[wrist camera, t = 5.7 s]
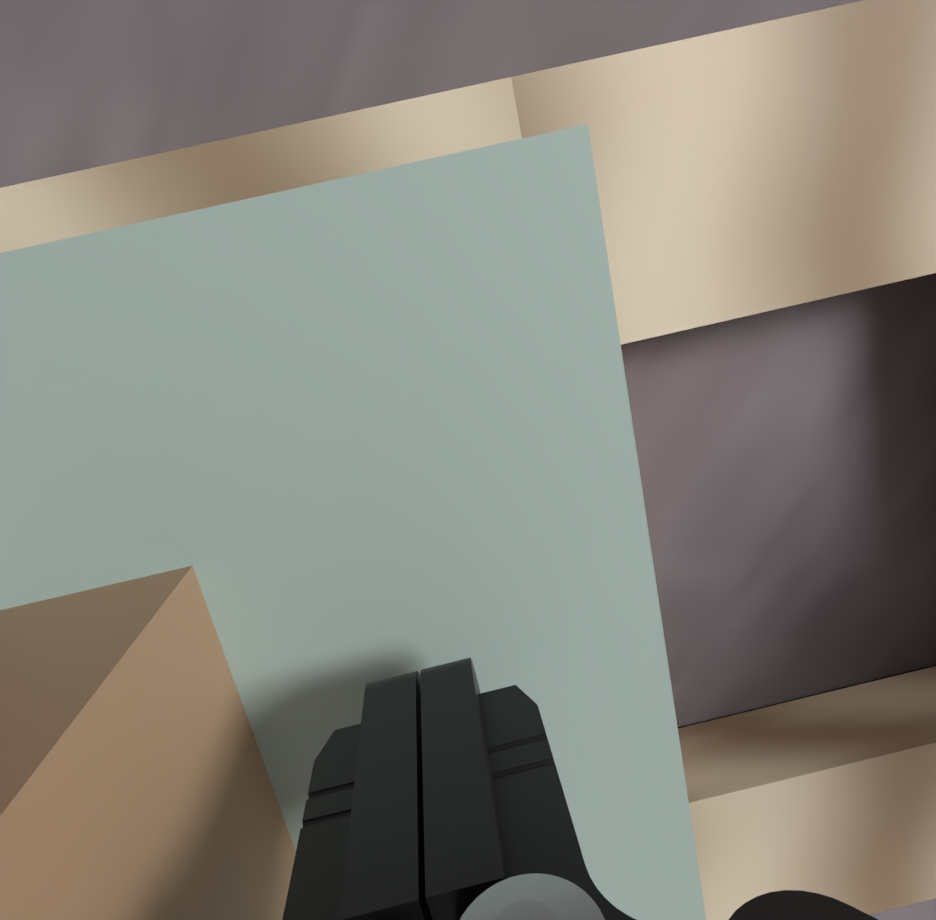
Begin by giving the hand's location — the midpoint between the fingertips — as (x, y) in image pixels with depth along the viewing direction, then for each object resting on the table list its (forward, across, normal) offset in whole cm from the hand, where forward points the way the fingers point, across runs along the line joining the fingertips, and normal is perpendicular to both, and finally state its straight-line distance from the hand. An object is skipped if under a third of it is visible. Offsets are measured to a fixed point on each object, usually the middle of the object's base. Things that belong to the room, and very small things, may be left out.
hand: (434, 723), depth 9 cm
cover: (+2, +1, 0) cm, 2 cm away
